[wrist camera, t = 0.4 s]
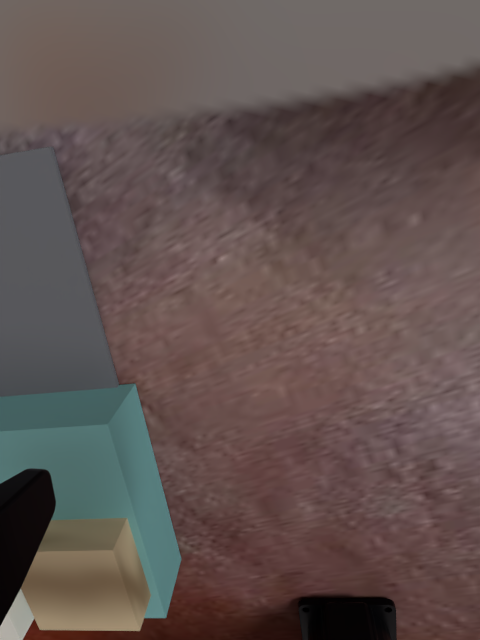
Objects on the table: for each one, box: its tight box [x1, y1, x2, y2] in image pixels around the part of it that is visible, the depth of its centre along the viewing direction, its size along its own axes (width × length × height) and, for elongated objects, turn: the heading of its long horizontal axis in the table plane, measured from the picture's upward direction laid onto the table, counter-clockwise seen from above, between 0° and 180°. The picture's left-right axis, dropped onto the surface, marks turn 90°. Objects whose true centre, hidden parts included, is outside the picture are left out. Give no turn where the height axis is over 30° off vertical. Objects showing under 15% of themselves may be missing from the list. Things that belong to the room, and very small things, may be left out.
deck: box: [0, 384, 181, 618], centre depth 25 cm, size 14×16×4 cm
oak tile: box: [21, 518, 151, 631], centre depth 23 cm, size 6×6×2 cm
